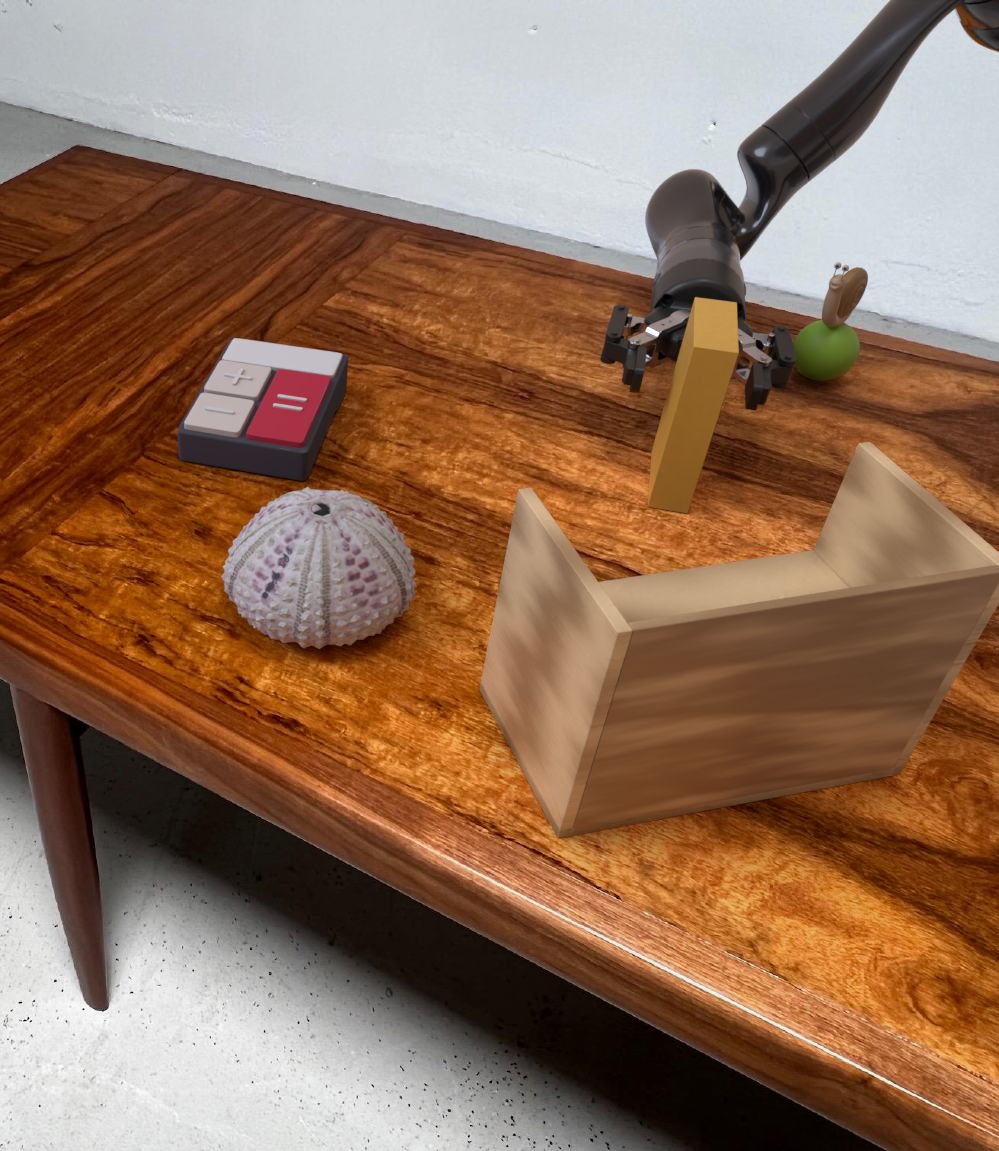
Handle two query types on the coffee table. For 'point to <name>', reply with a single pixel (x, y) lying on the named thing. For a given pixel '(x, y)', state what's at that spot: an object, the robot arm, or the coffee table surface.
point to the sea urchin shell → (320, 569)
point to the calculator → (264, 409)
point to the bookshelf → (734, 658)
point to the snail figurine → (832, 329)
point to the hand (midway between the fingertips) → (694, 390)
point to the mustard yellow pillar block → (693, 403)
